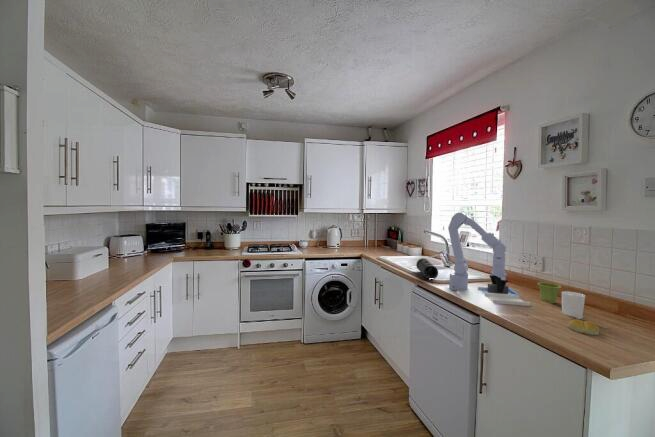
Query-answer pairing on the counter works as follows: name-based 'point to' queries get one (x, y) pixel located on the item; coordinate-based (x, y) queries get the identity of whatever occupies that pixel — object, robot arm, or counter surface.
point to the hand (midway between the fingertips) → (497, 290)
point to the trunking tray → (504, 297)
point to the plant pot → (549, 292)
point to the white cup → (573, 304)
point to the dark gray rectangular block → (493, 289)
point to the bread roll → (584, 327)
